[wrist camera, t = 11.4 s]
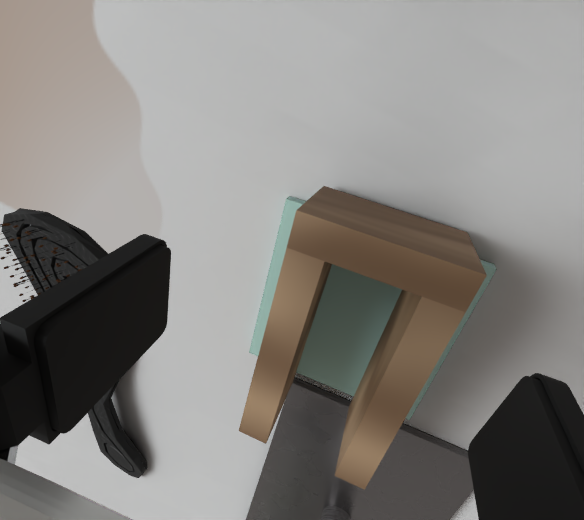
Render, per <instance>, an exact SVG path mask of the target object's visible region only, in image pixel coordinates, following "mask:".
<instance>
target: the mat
mask: <svg viewBox="0 0 584 520" xmlns="http://www.w3.org/2000/svg"><path fill="white" fill-rule="evenodd" d="M305 202H306V201H303V200H300V199H297V198H294V197H291V196H290V197H288V198H287V199H286V202H285V206H284V210H283V214H282V218H281V223H280V227H279V231H278V235H277V239H276V243H275V247H274V252H273V256H272V260H271V264H270V268H269V272H268V276H267V281H266V285H265V289H264V293H263V297H262V301H261V305H260V310H259V314H258V318H257V322H256V326H255V330H254V334H253V339H252V343H251V347H250V351H249V353H252V354H254V355H256V356H258V355H259V351H260V347H261V344H262V340H263V336H264V332H265V328H266V324H267V321H268V317H269V313H270V309H271V305H272V301H273V298H274V294H275V290H276V286H277V282H278V278H279V275H280V271H281V267H282V263H283V259H284V255H285V252H286V248H287V244H288V240H289V236H290V232H291V229H292V225H293V221H294V217H295V213H296V210H297V209H298V208H299V207H301V206H302V205H303V204H304V203H305ZM480 261H481V263H482V265H483V268H484V270H485V272H486V274H487V276H486V278H485V279H484V281H483V283H482V285H481V286H480V288H479V290H478V292H477V294H476V295H475V297H474V299H473V301H472V302H471V304H470V306H469V308H468V309H467V311H466V313H465V315H464V316H463V318H462V320H461V322H460V323H459V325H458V327H457V329H456V330H455V332H454V334H453V336H452V337H451V339H450V341H449V343H448V344H447V346H446V348H445V350H444V351H443V353H442V355H441V357H440V358H439V360H438V362H437V364H436V365H435V367H434V369H433V371H432V372H431V374H430V376H429V378H428V379H427V381H426V383H425V385H424V386H423V388H422V390H421V392H420V393H419V395H418V397H417V399H416V400H415V402H414V404H413V406H412V407H411V409H410V411H409V413H408V414H407V416H406V418H405V419H408V420H410V418H411V417H412V415H413V413H414V411H415V410H416V408H417V406H418V405H419V403H420V401H421V399H422V398H423V396H424V394H425V392H426V391H427V389H428V387H429V385H430V384H431V382H432V380H433V379H434V377H435V375H436V373H437V372H438V370H439V368H440V366H441V365H442V363H443V361H444V360H445V358H446V356H447V354H448V353H449V351H450V349H451V347H452V346H453V344H454V342H455V340H456V339H457V337H458V335H459V334H460V332H461V330H462V328H463V327H464V325H465V323H466V321H467V320H468V318H469V316H470V314H471V313H472V311H473V309H474V308H475V306H476V304H477V302H478V301H479V299H480V297H481V295H482V294H483V292H484V290H485V289H486V287H487V285H488V283H489V282H490V280H491V278H492V276H493V275H494V273H495V271H496V267H495V265H494V264H492V263H489V262H486V261H483V260H480ZM401 291H402V289H399V288H397V287H394V286H391V285H388V284H386V283H383V282H380V281H377V280H375V279H372V278H369V277H366V276H364V275H361V274H358V273H355V272H353V271H350V270H347V269H344V268H341V267H339V266H336V265H333V264H332V266H331V269H330V272H329V275H328V278H327V281H326V284H325V287H324V290H323V293H322V296H321V299H320V302H319V305H318V308H317V311H316V314H315V317H314V320H313V323H312V326H311V329H310V332H309V335H308V338H307V341H306V344H305V347H304V350H303V353H302V356H301V359H300V362H299V365H298V368H297V371H296V372H297V373H299V374H301V375H304V376H306V377H308V378H311V379H313V380H315V381H318V382H320V383H323V384H325V385H327V386H330V387H332V388H334V389H337V390H339V391H341V392H344V393H346V394H349V395H351V396H353V397H354V395H355V392H356V390H357V388H358V386H359V384H360V381H361V379H362V377H363V375H364V373H365V370H366V368H367V366H368V364H369V362H370V359H371V357H372V355H373V353H374V351H375V348H376V346H377V344H378V342H379V340H380V337H381V335H382V333H383V331H384V328H385V326H386V324H387V322H388V320H389V317H390V315H391V313H392V311H393V309H394V306H395V304H396V302H397V300H398V298H399V295H400V293H401Z"/></svg>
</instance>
